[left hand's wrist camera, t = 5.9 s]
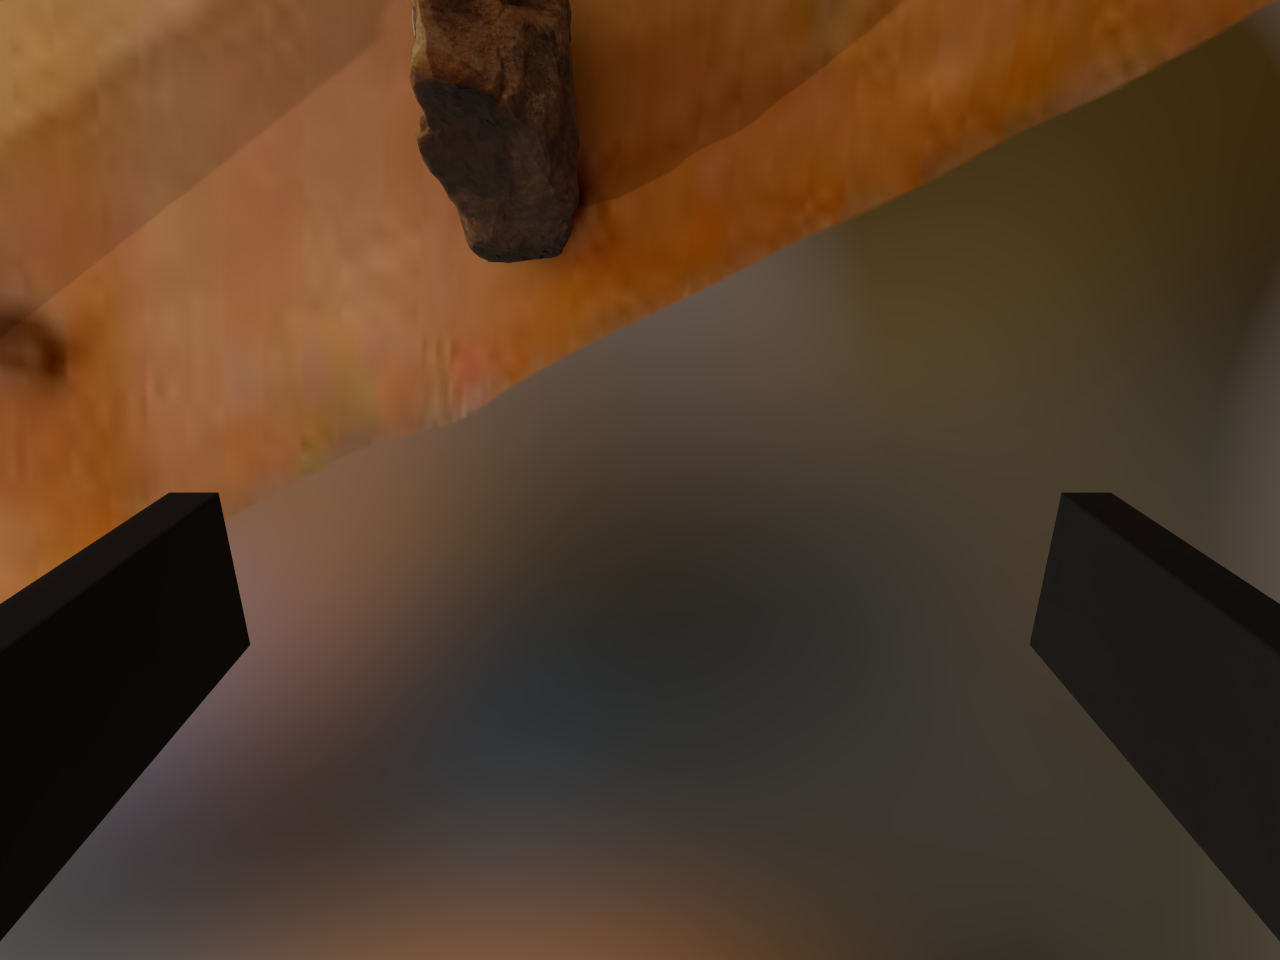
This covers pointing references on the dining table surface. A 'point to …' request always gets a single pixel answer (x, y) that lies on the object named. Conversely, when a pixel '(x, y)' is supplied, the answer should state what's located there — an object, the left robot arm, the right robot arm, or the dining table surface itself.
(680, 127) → the dining table surface
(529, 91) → the decorative rock
